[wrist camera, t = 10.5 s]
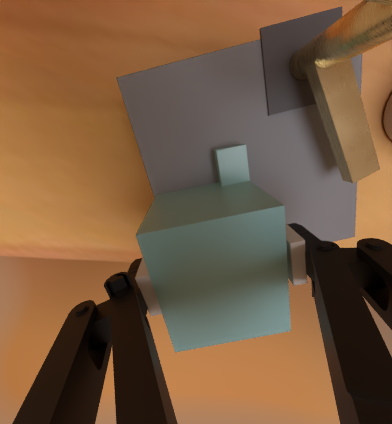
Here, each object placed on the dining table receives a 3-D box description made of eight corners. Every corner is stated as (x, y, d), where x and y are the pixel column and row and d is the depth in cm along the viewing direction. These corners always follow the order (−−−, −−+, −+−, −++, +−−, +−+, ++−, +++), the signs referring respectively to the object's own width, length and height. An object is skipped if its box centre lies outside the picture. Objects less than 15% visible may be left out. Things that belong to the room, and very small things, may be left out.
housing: (135, 88, 19) (112, 67, 13) (309, 43, 18) (367, -1, 12) (180, 244, 25) (179, 277, 19) (315, 213, 24) (356, 237, 18)
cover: (147, 163, 15) (118, 183, 9) (240, 143, 15) (281, 149, 9) (178, 277, 19) (175, 352, 12) (254, 262, 19) (290, 330, 12)
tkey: (224, 162, 15) (287, 205, 6) (246, 36, 13) (424, -256, 3) (345, 178, 16) (572, 239, 7) (389, 62, 14) (860, -107, 4)
